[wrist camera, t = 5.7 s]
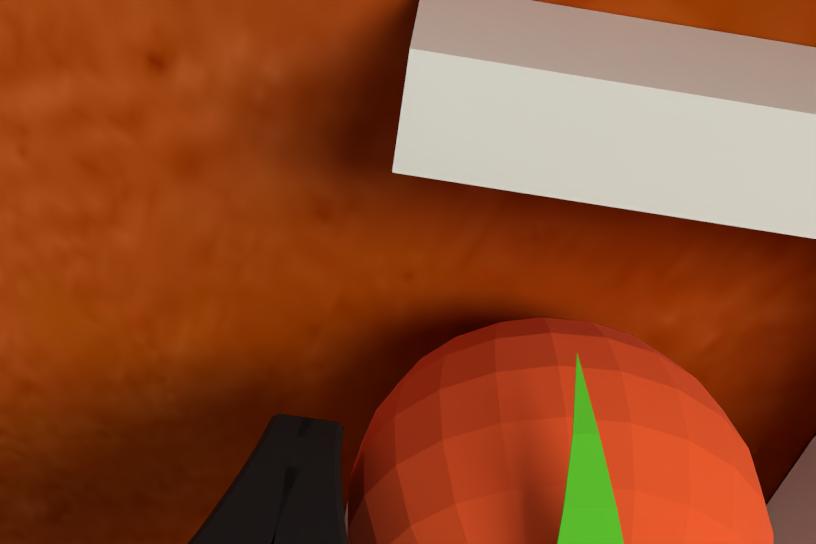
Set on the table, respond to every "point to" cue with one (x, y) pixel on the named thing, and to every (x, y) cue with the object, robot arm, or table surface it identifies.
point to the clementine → (552, 447)
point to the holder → (620, 129)
